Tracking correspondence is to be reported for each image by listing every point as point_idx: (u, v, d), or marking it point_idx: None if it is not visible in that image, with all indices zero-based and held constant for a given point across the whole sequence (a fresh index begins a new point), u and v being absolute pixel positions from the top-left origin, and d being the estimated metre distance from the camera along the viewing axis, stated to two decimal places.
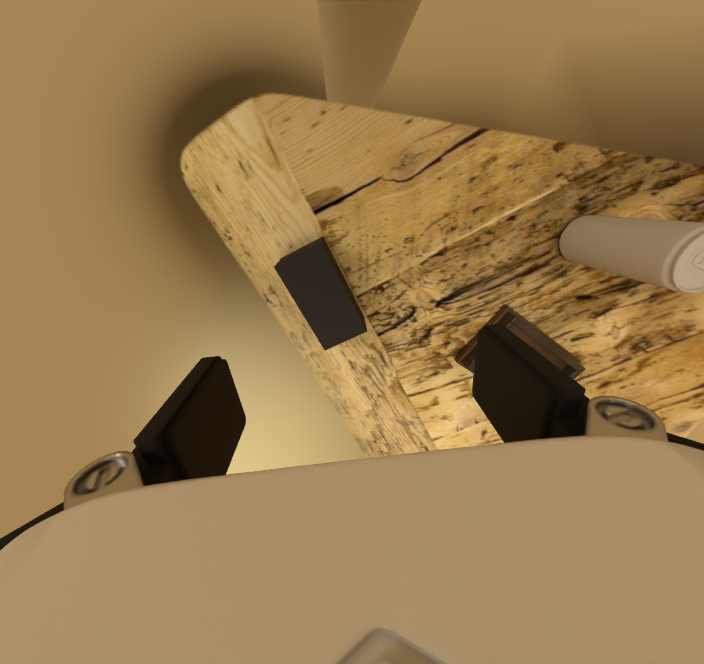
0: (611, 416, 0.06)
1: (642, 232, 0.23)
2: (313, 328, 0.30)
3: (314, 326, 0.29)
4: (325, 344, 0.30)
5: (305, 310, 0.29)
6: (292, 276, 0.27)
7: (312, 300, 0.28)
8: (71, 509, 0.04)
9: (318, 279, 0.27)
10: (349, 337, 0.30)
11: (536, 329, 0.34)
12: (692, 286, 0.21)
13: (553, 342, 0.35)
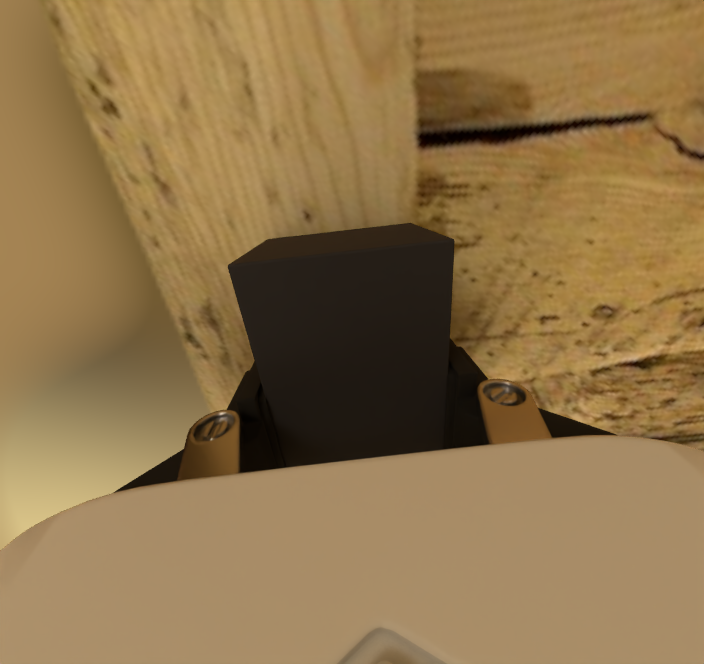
0: (495, 397, 0.07)
1: None
2: None
3: None
4: None
5: (290, 436, 0.08)
6: (289, 323, 0.07)
7: (327, 416, 0.08)
8: (71, 509, 0.04)
9: (377, 362, 0.07)
10: None
11: None
12: None
13: None
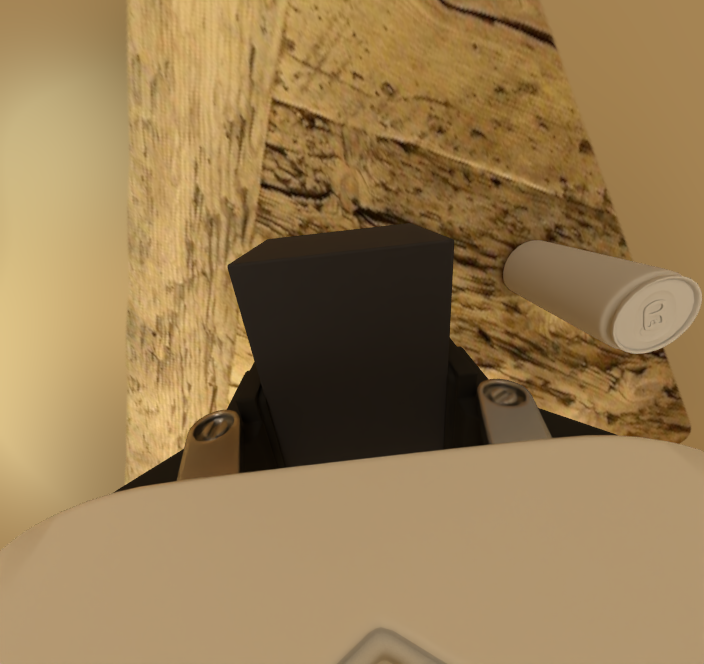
0: (495, 397, 0.07)
1: (611, 258, 0.18)
2: None
3: None
4: None
5: (290, 436, 0.08)
6: (289, 323, 0.07)
7: (326, 416, 0.08)
8: (71, 509, 0.04)
9: (377, 362, 0.07)
10: None
11: None
12: (621, 338, 0.16)
13: None
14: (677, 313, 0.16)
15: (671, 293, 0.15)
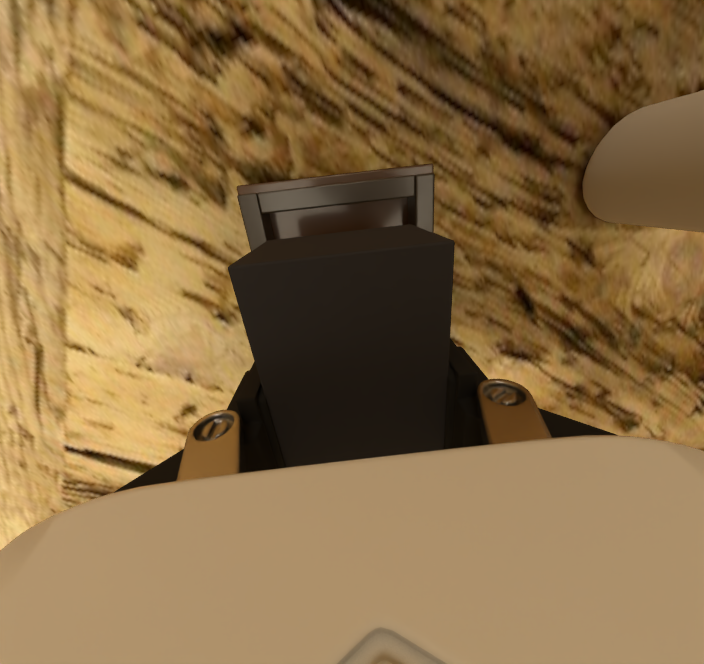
0: (495, 397, 0.07)
1: None
2: None
3: None
4: None
5: (290, 437, 0.08)
6: (289, 325, 0.07)
7: (327, 417, 0.08)
8: (71, 509, 0.04)
9: (377, 363, 0.07)
10: None
11: None
12: None
13: None
14: None
15: None
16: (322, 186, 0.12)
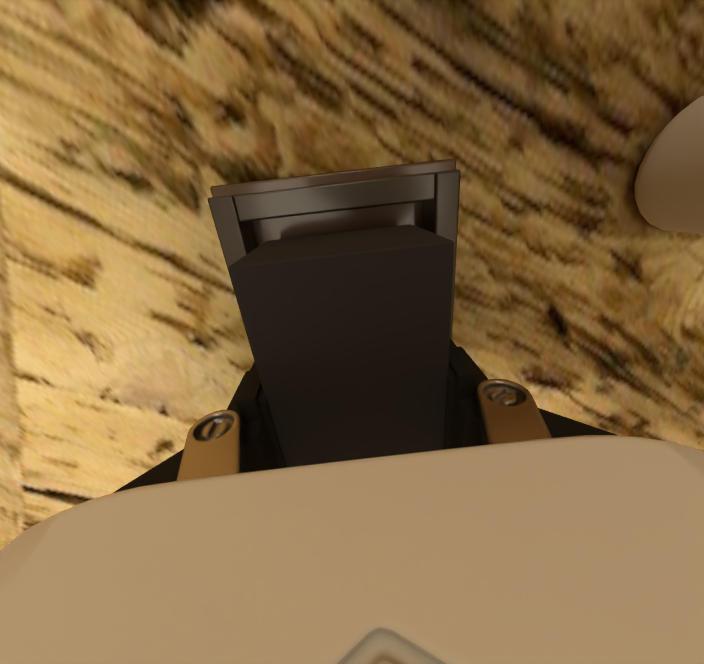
0: (495, 397, 0.07)
1: None
2: None
3: None
4: None
5: (290, 437, 0.08)
6: (289, 325, 0.07)
7: (327, 417, 0.08)
8: (71, 509, 0.04)
9: (377, 363, 0.07)
10: None
11: None
12: None
13: None
14: None
15: None
16: (316, 187, 0.09)
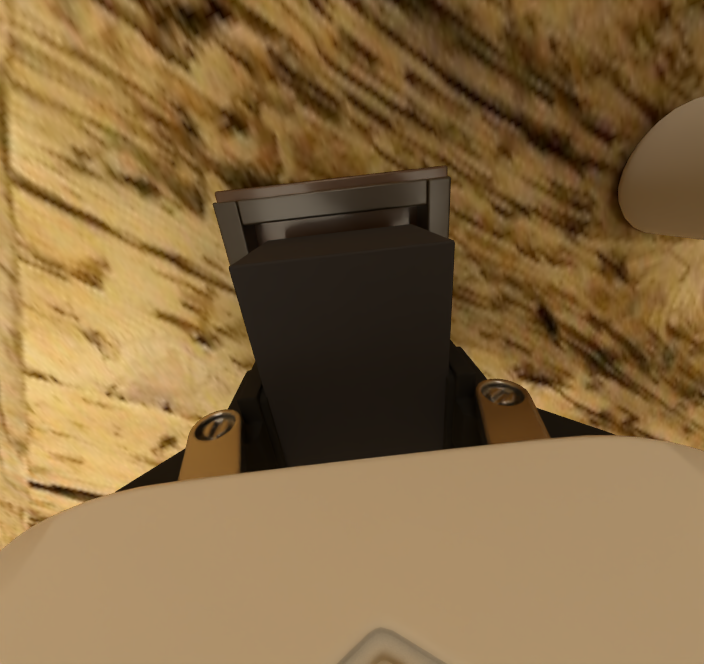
0: (494, 397, 0.07)
1: None
2: None
3: None
4: None
5: (291, 436, 0.08)
6: (290, 324, 0.07)
7: (328, 417, 0.08)
8: (71, 509, 0.04)
9: (378, 363, 0.07)
10: None
11: None
12: None
13: None
14: None
15: None
16: (315, 192, 0.10)
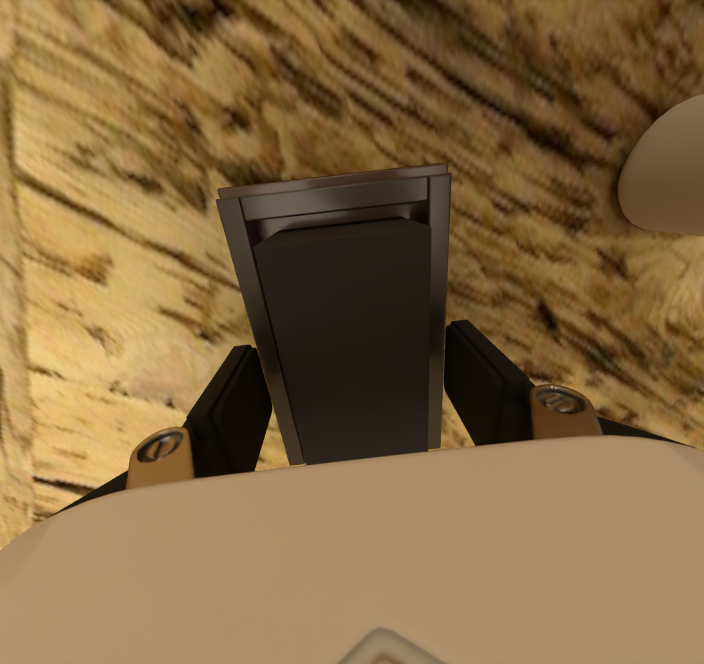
0: (550, 403, 0.07)
1: None
2: (304, 437, 0.11)
3: (309, 434, 0.11)
4: None
5: (300, 392, 0.10)
6: (301, 294, 0.09)
7: (330, 375, 0.10)
8: (71, 509, 0.04)
9: (371, 327, 0.09)
10: None
11: None
12: None
13: None
14: None
15: None
16: (317, 189, 0.10)
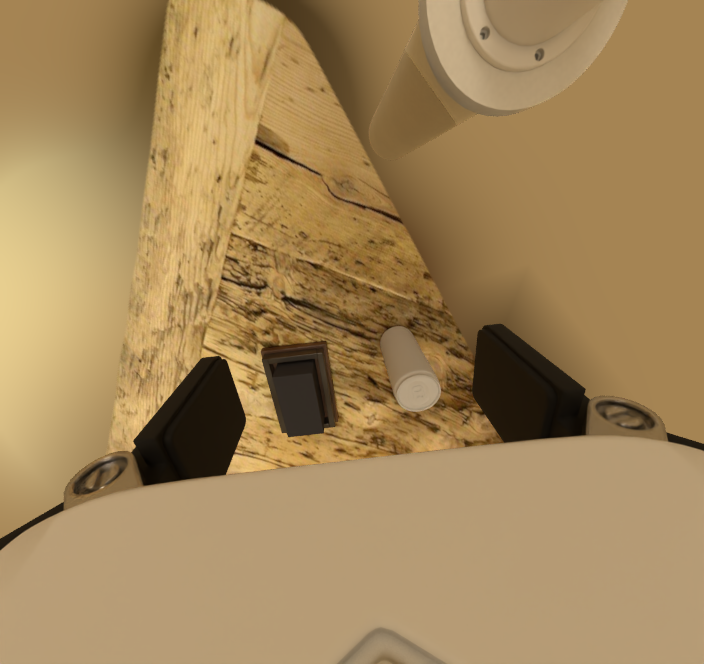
0: (611, 416, 0.06)
1: (412, 355, 0.31)
2: (285, 421, 0.39)
3: (286, 420, 0.39)
4: (290, 433, 0.40)
5: (283, 409, 0.38)
6: (283, 386, 0.36)
7: (291, 404, 0.38)
8: (71, 509, 0.04)
9: (301, 393, 0.37)
10: (309, 433, 0.40)
11: (329, 375, 0.41)
12: (403, 402, 0.30)
13: (332, 393, 0.42)
14: (430, 392, 0.29)
15: (423, 383, 0.29)
16: (288, 356, 0.38)
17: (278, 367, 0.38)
